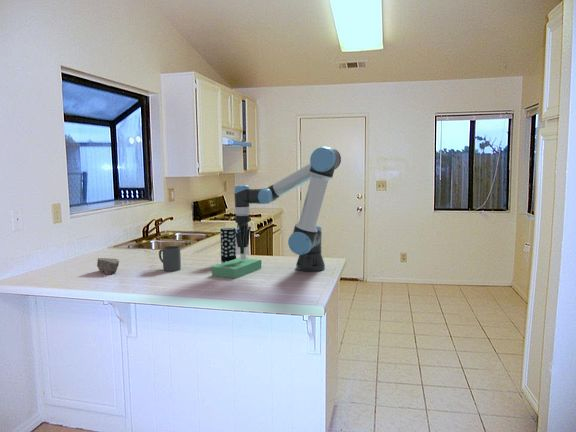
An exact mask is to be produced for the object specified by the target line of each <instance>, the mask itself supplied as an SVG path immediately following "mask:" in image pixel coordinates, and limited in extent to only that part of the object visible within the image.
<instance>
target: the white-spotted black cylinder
mask: <svg viewBox="0 0 576 432" xmlns="http://www.w3.org/2000/svg"><path fill="white" fill-rule="evenodd" d="M235 229H236V228H235V227H223V228H220V230H219V231H220V259H221V260H220V264H222V263H225V262H228V261H231V260H234V259H237V240H236V234H235V232H234V230H235Z"/></svg>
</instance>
